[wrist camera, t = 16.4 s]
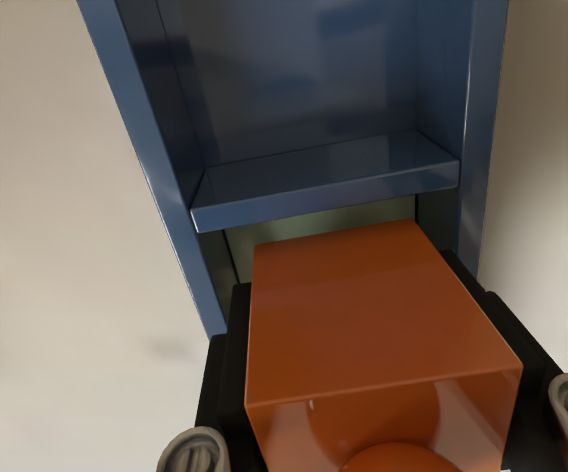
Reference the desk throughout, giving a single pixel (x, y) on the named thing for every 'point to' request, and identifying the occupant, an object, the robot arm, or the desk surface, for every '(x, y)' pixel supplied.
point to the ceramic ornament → (373, 358)
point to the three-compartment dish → (303, 121)
